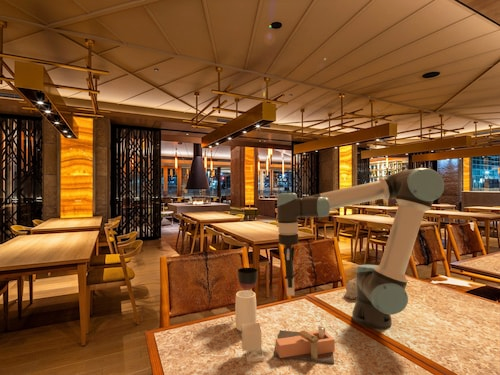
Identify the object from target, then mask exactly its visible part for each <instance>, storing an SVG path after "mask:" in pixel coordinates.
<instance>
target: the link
mask: <svg viewBox="0 0 500 375" xmlns="http://www.w3.org/2000/svg"><path fill="white" fill-rule="evenodd" d="M307 333H309V334H311V335H313V336H317V338H318V342H317V354H323V353H329V352H333V353H334V352H335V351H336V350H335V346H336V345H335V339H334V337H332V335H331V334H330V333H328V332H327V331H326V330H325V339H321V340H319V337H318V330H316V331H315V330H314V331H308V332H307ZM275 349H276V352H277V354H278V355H279V357H280V358H279V359H284V358H283V357H289V356H295V355H301V354H307V353H311V342H310V341H308V340H306V339H304V338H303V337H301V336H294V337H287V338H280V339H278V338H276V339H275Z"/></svg>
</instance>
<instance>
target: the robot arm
mask: <svg viewBox="0 0 500 375" xmlns="http://www.w3.org/2000/svg"><path fill="white" fill-rule="evenodd" d="M444 190H445V182H444V179H443V178H442V176H441V174H440V173H439V172H437V171H436V170H434V169H432V168H427V167H418V168H414V169H413V168H412V169H405V170H402V171H399V172H396V173H392V174H390V175H387V176H386V175H385V176H382V177H378V180H376V181H373V182H372V181H371V182H368V183H363V184H357V185H353V186H349V187H348V186H347V187H344V188H340V189H337V190H336V189H335V190H331V191H330V190H329V191H326V192H322V193H317V194H313V195H306V196H304V197H298V196H297V193H295V192H288V193H287V192H283V193H278V195H277V197H276V199H277V200H276V204H277V205H276V208H277V209H276V210H277V224H276V228H278V233H279V234H278V243H279V245H283V246H285V247H284V248H283V256H284V258H283V259H284V264H285V265H284V266H285V267H284V268H285V276H284V280H285V281H286V296H288V297H289V296H293V297H294V296H295V278H296V274H294V272H295V271H294V259H295V254H294V253H295V247H293V246H296V245H297V244H299V234H298V232H299V222H298V218H325V217H328V216H329V215H330V213H331V210H335V209H340V208H344V207H350V206H352V205H353V206H354V205H359V204H362V203H368V202H373V201H377V200H382V199H383V200H384V201H389V200H395V201H396V203H397V205H398V206H397V209H396V212H395V215H394V217H393V218H394V219H393V221H392V222H393V223H392V225H391V228H390V232H389V235H388V237H387V240H386V244H385V247H384V251H383V254H382V256H381V260H380V263H379V264H378V265H377V264H359V265H357V266H356V272H355V275H356V276H355V278H356V291H357V300H355V304H354V306H353V310H352V316H351V317H352V320H353V322H355V323H356V324H358V325H360V326H362V327H365V328H369V329H373V330H383V329H388V328H390V327H392V325H393V324H392V323H393V322H392V321H393V319H392V316H391V315H396V314H399V313H401V312H403V311H404V310H405V309H406V307H407V306H408V303H409V296H408V294H407V291H406V288H407V284H408V281H409V280H408V278H407V277H406V271H407V268H408V265H409V262H410V259H411V257H412V256H411V255H412V252H413V249H414V246H415V243H416V240H417V237H418V233H419V230H420V228H421V225H422V222H423V218H424V215H425V213H426V212H427V211H430V210H431V209H432V206H433V203H434V201H436V200H437V199H440V197H441V196H442V195H443V193H444Z"/></svg>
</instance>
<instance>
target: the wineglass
mask: <svg viewBox="0 0 500 375" xmlns="http://www.w3.org/2000/svg"><path fill="white" fill-rule="evenodd" d="M237 278H238V283H239V286H240V288H242V289H244V290H248V291H251V290H252V289H253V288H255V287H256V285H257V280H258V269H257V268H254V267H241V268H239V269H238V270H237Z"/></svg>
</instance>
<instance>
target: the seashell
mask: <svg viewBox="0 0 500 375" xmlns="http://www.w3.org/2000/svg"><path fill="white" fill-rule="evenodd" d="M345 290H346V292H345V293H344V297H345V298H347V299H350V300H355V301H356V300H357V291H356V277H354V278H353V279H350V280H348V281H347V283H345Z"/></svg>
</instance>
